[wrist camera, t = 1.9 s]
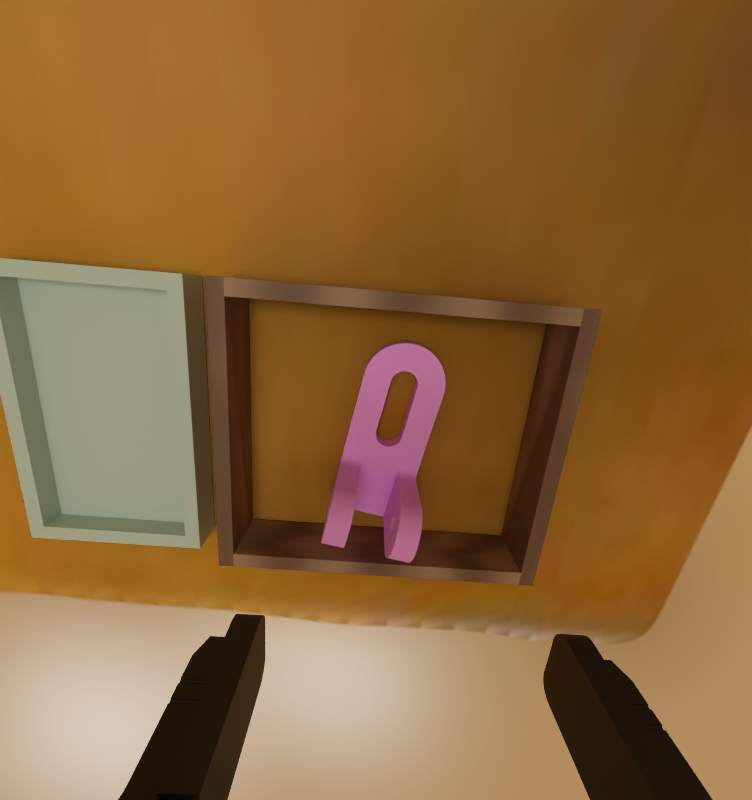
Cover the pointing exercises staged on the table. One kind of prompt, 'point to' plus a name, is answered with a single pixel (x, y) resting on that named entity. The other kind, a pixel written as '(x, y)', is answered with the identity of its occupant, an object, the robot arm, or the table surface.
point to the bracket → (387, 452)
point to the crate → (364, 547)
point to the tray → (107, 402)
